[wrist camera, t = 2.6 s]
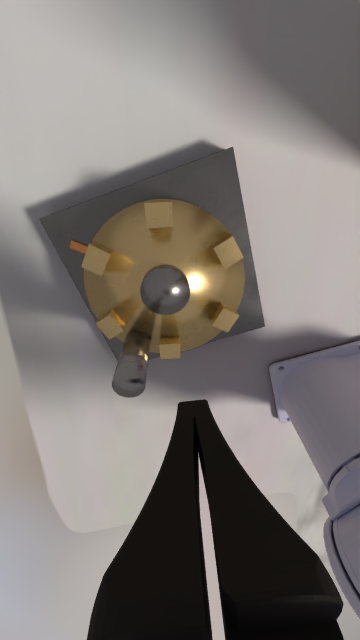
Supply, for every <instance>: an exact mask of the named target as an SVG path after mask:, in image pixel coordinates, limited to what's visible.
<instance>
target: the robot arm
mask: <svg viewBox="0 0 360 640" xmlns="http://www.w3.org/2000/svg"><path fill="white" fill-rule="evenodd" d="M359 346H360V340H359V341H356V342H352V343H348V344H344V345H341V346H337V347H333V348H330V349H326V350H322V351H318V352H315V353H311V354H307V355H303V356H300V357H296V358H292V359H288V360H285V361H281V362H277V363H273V364H271V365H270V367H269V372H270V377H271V383H272V388H273V393H274V399H275V404H276V409H277V415H278V419H279V421H280V422H281V423H287V422H292V424H293V426H294V428H295V430H296V432H297V434H298V435H299V437H300V439H301V441H302V443H303V445H304V447H305V449H306V451H307V453H308V455H309V456H310V458H311V460H312V462H313V464H314V466H315V468H316V470H317V472H318V474H319V476H320V477H321V479H322V481H323V483H324V485H325V487H326V489H327V491H328V494H327V495H326V496H325V497H323V498H322V502H323V504H324V506H325V508H326V510H327V512H328V514H329V516H330V517H329V518H327V520H326V522H325V524H324V529H323V531H324V542H325V547H326V551H327V555H328V558H329V562H330V565H331V568H332V570H333V573H334V575H335V577H336V580H337V582H338V584H339V586H340V588H341V590H342V592H343V593H344V595H345V597H346V598H347V600H348V602H349V603H350V605H351V607H352V608H353V609H354V611H355V613H356V614H357V615H358V617H359V618H360V347H359ZM281 366H282V367H281ZM279 367H281V368H279ZM198 453H199V458H200V463H201V468H202V473H203V478H204V483H205V488H206V493H207V499H208V504H209V510H210V517H211V525H212V533H213V541H214V550H215V558H216V566H217V574H218V582H219V590H220V599H221V607H222V615H223V624H224V632H225V640H344V639H343V635H342V633H341V630H340V628H339V625H338V623H337V618H338V616H339V615H340V613H341V612H342V608H343V601H342V599H341V596H340V594H339V592H338V590H337V588H336V586H335V584H334V582H333V580H332V578H331V577H330V575H329V573H328V571H327V570H326V568H325V566H324V565H323V563H322V561H321V560H320V558H319V557H318V555H317V554H316V553H315V552H314V551H313V550H312V549H311V548H310V547H309V546H308V545H307V544H306V543H305V542H304V541H303V539H302V538H301V537H300V536H299V535H298V534H297V533H296V532H295V531H294V530H293V529H292V528H291V527H290V526H289V524H288V523H287V522H286V521H285V520H284V519H283V518H282V516H281V515H280V514H279V513H278V512H277V511H276V509H275V508H274V507H273V506H272V505H271V503H270V502H269V501H268V500H267V499H266V497H265V496H264V495H263V494H262V493H261V491H260V490H259V489H258V488H257V486H256V485H255V484H254V482H253V481H252V480H251V478H250V477H249V476H248V474H247V473H246V471H245V470H244V469H243V467H242V466H241V464H240V463H239V461H238V460H237V458H236V457H235V455H234V454H233V452H232V450H231V449H230V447H229V445H228V444H227V442H226V440H225V439H224V437H223V435H222V433H221V431H220V430H219V428H218V426H217V424H216V422H215V420H214V417H213V415H212V413H211V410H210V408H209V405H208V401H207V400H195V401H186V402H180V403H179V404H178V409H177V416H176V421H175V425H174V429H173V433H172V436H171V440H170V443H169V446H168V449H167V452H166V455H165V458H164V461H163V463H162V466H161V468H160V471H159V473H158V476H157V478H156V481H155V483H154V485H153V487H152V490H151V492H150V494H149V496H148V498H147V500H146V502H145V504H144V506H143V508H142V510H141V512H140V514H139V516H138V518H137V520H136V521H135V523H134V525H133V527H132V529H131V530H130V532H129V534H128V536H127V538H126V539H125V541H124V543H123V545H122V546H121V548H120V549H119V551H118V553H117V554H116V556H115V558H114V559H113V561H112V562H111V564H110V566H109V567H108V569H107V571H106V572H105V574H104V576H103V579H102V581H101V584H100V587H99V590H98V593H97V596H96V600H95V603H94V607H93V611H92V615H91V620H90V625H89V631H88V637H87V640H212V630H211V621H210V610H209V600H208V590H207V580H206V571H205V560H204V550H203V540H202V530H201V519H200V504H199V464H198Z"/></svg>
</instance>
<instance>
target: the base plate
mask: <svg viewBox="0 0 360 640" xmlns="http://www.w3.org/2000/svg"><path fill="white" fill-rule="evenodd" d="M152 199H175V200H181V201H184V202H188V203H191V204H193V205H195V206H197V207H199V208H202V209H203V210H205V211H206V212H208V213H209V214H211V215H212V216H214V217H215V218H216V219H217V220H219V221H220V222H221V223H222V224H223V225H224V226H225V227H226V229H227V230H228V231H229V232H230V233H231V235H232V236H233V238H234V240H235V241H236V243H237V245H238V247H239V249H240V251H241V253H242V255H243V257H244V258H243V263H244V270H245V285H244V292H243V296H242V299H241V303H240V305H239V307H238V310H237V312H238V314H239V315H240V316H239V317H238V319H237V320H236V321H235V323H234V324H233V326H232V327H231V329H230V330H229V332H225V331H223V330H222V331H221V332H220V333H219V334H218V335H217V336H215V337H214V338H213V339H211V340H210V341H208V342H206V343H209V342H212V341H216V340H219V339H223V338H226V337H230V336H233V335H237V334H240V333H244V332H247V331H251V330H254V329H258V328H261V327H265V324H264V319H263V313H262V307H261V302H260V296H259V291H258V285H257V279H256V274H255V268H254V262H253V257H252V251H251V246H250V240H249V234H248V229H247V223H246V217H245V212H244V206H243V201H242V195H241V189H240V184H239V178H238V172H237V167H236V161H235V156H234V150H233V147H231V148H228V149H226V150H223V151H220V152H218V153H215V154H212V155H209V156H207V157H204V158H201V159H199V160H196V161H193V162H191V163H188V164H185V165H183V166H180V167H177V168H175V169H172V170H169V171H167V172H164V173H161V174H159V175H156V176H153V177H151V178H148V179H145V180H142V181H140V182H137V183H134V184H132V185H129V186H126V187H124V188H121V189H118V190H116V191H113V192H110V193H108V194H105V195H102V196H100V197H97V198H94V199H92V200H89V201H86V202H83V203H81V204H78V205H75V206H73V207H70V208H67V209H65V210H62V211H59V212H57V213H54V214H51V215H49V216H46V217H43V218H41V219H40V221H41V223H42V225H43V227H44V228H45V230H46V232H47V234H48V236H49V238H50V239H51V241H52V243H53V245H54V247H55V248H56V250H57V252H58V254H59V256H60V257H61V259H62V261H63V263H64V265H65V266H66V268H67V270H68V272H69V274H70V276H71V277H72V279H73V281H74V283H75V285H76V286H77V288H78V290H79V292H80V294H81V295H82V297H83V299H84V301H85V303H86V304H87V306H88V308H89V310H90V312H91V313H92V315H93V317H94V319H95V321H97V320H98V318H97V317H96V315H95V314H94V312H93V310H92V308H91V306H90V304H89V302H88V298H87V295H86V291H85V286H84V268H83V267H81V266H82V263H83V260H84V257H85V254H86V251H87V248H88V245H89V244H90V243H91V242H92V240H93V239H94V237H95V235H96V234H97V232H98V231H99V230H100V229H101V227H102V226H103V225H104V224H105V223H106V222H107V221H108V220H109V219H110V218H112V217H113V216H114V215H115V214H117V213H119V212H120V211H122V210H123V209H125V208H128V207H130V206H132V205H134V204H137V203H139V202H143V201H147V200H152ZM101 332H102V331H101ZM102 333H103V332H102ZM103 335H104V337H105V339H106V341H107V342H108V344H109V346H110V348H111V350H112V351H113V353H114V355H115V357H116V359H117V361H119V357H120V354H121V351H122V347H123V344H124V342H123V341H121V340H119V339H118V338H117V337H113V338H111V339H110V340H109V339H108V337H107V336H106V335H105V334H104V333H103ZM159 356H160V353H155V352H149V359H152V358H156V357H159ZM149 359H148V360H149Z"/></svg>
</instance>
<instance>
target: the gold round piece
mask: <svg viewBox="0 0 360 640" xmlns="http://www.w3.org/2000/svg"><path fill="white" fill-rule="evenodd" d="M243 258H244V257H243V255H242V253H241V251H240V249H239V247H238V245H237V243H236V241H235V240H234V238H233V236H232V235H231V233H230V232H229V231H228V230H227V229H226V227H225V226H224V225H223V224H222V223H221V222H220V221H219V220H217V219H216V218H215V217H214V216H212V215H211V214H209V213H208V212H206V211H205V210H203V209H202V208H199V207H197V206H195V205H193V204H191V203H188V202H184V201H181V200H175V199H152V200H147V201H143V202H139V203H137V204H134V205H132V206H130V207H128V208H125V209H123V210H122V211H120V212H119V213H117V214H115V215H114V216H113V217H112V218H110V219H109V220H108V221H107V222H106V223H105V224H104V225H103V226H102V227H101V229H100V230H99V231H98V232H97V234H96V235H95V237H94V239H93V240H92V242H91V243H90V244H89V245H88V248H87V251H86V254H85V257H84V260H83V263H82V266H81V267H83V268H84V286H85V291H86V295H87V298H88V302H89V304H90V306H91V308H92V310H93V312H94V314H95V315H96V317H97V318H98V320H97V321H96V323H95V325H96V326H97V327H98V328H99V329H100V330H101V331H102V332H103V333H104V334H105V335H106V336H107V337H108V339H109V340H110V339H111V338H113V337H117V338H118V339H119V340H121V341H123V342H124V344H123V347H122V351H121V354H120V357H119V361H118V364H117V367H116V371H115V374H114V377H113V381H112V387H113V390H114V391H115V392H116V393H117V394H119V395H121V396H123V397H136V396H138V395H140V394H141V393H142V392H143V391H144V389H145V383H146V375H147V367H148V359H149V352H155V353H160V359H174V358H181V354H180V352H182V351H187V350H190V349H193V348H196V347H198V346H201V345H203V344H205V343H206V342H208V341H210V340H211V339H213V338H214V337H215V336H217V335H218V334H219V333H220V332H221V331H222V330H223V331H225V332H229V330H230V329H231V327H232V326H233V324H234V323H235V321H236V320H237V319H238V317H239V316H240V315H239V314H238V312H237V310H238V307H239V305H240V303H241V299H242V296H243V292H244V285H245V270H244V263H243Z"/></svg>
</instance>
